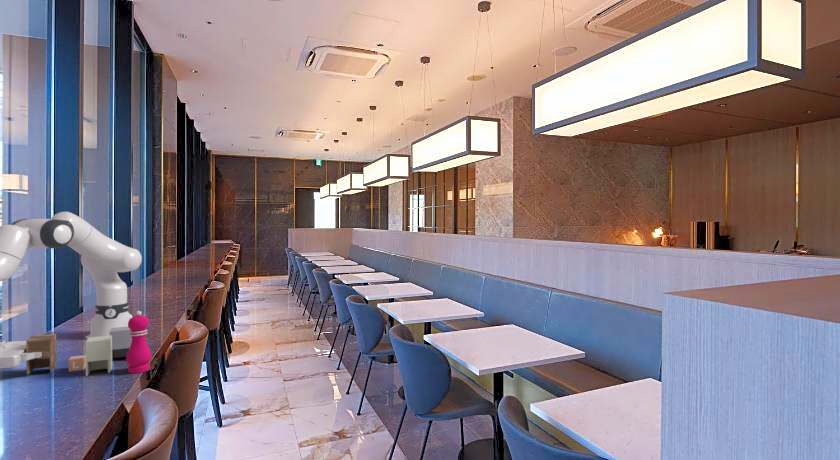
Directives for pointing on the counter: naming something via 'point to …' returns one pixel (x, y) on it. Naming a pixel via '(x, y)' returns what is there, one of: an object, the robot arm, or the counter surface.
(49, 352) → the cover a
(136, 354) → the pepper mill
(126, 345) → the cover
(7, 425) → the counter surface
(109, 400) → the counter surface
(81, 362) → the letter cube
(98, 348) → the cover
